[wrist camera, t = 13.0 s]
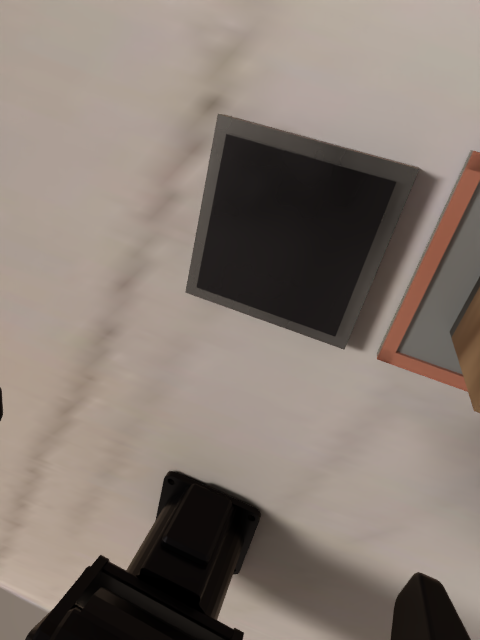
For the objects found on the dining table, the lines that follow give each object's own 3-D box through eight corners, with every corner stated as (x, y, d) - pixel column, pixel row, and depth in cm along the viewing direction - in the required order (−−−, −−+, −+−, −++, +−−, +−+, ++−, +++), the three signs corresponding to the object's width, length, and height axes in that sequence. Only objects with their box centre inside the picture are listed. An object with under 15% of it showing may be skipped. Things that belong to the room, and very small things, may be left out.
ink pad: (345, 341, 20) (343, 352, 19) (192, 287, 21) (182, 294, 20) (417, 167, 16) (419, 169, 15) (224, 114, 17) (214, 113, 16)
